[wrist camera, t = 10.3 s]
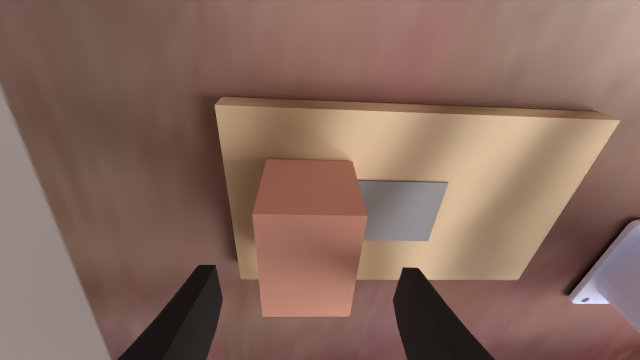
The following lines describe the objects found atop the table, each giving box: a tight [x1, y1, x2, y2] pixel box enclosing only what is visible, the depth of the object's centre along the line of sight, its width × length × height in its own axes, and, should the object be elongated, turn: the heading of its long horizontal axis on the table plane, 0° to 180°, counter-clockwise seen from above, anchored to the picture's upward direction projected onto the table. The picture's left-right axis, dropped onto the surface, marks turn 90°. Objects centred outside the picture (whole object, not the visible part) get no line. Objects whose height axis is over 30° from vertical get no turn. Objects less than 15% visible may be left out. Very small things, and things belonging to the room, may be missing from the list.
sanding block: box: [252, 159, 368, 317], centre depth 13 cm, size 4×6×4 cm, turn 177°
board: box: [215, 97, 621, 280], centre depth 16 cm, size 18×11×1 cm, turn 87°
